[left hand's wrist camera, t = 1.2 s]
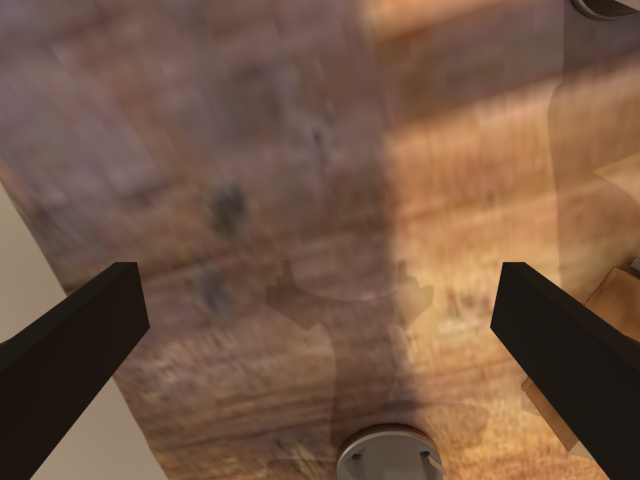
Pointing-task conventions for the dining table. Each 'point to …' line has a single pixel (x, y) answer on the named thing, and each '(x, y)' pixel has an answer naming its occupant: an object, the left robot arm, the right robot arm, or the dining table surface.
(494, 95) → the dining table surface
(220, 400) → the dining table surface
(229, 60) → the dining table surface
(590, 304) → the brown rectangular block
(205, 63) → the dining table surface
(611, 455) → the left robot arm
